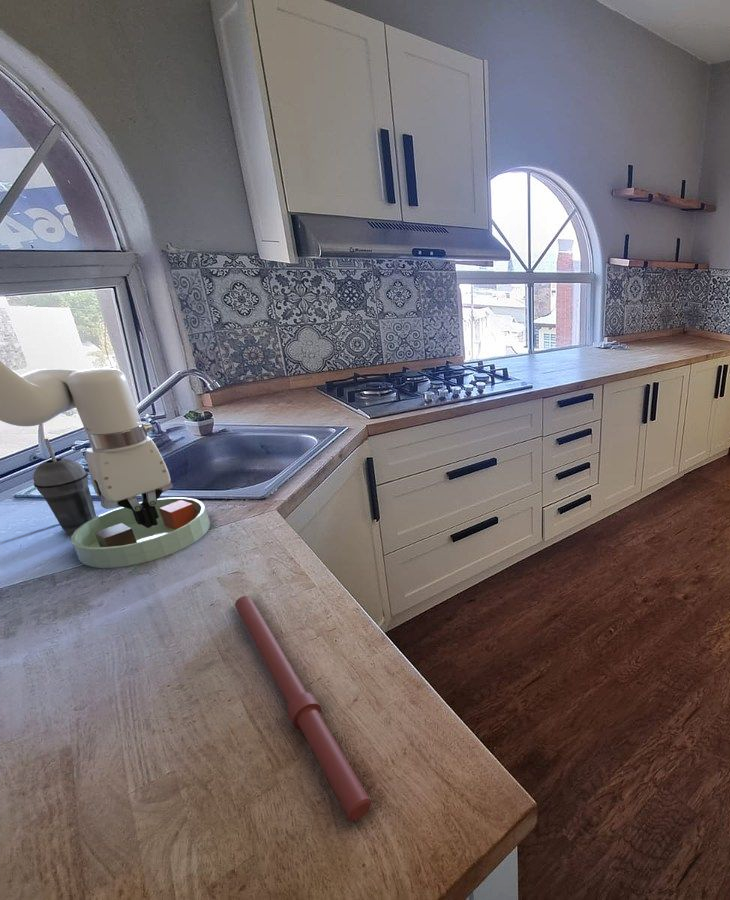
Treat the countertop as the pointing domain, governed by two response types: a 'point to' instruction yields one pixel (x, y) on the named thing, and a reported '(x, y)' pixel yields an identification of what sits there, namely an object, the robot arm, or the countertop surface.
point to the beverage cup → (65, 491)
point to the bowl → (138, 536)
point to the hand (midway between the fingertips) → (149, 524)
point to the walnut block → (115, 536)
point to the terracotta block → (177, 514)
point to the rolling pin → (306, 714)
